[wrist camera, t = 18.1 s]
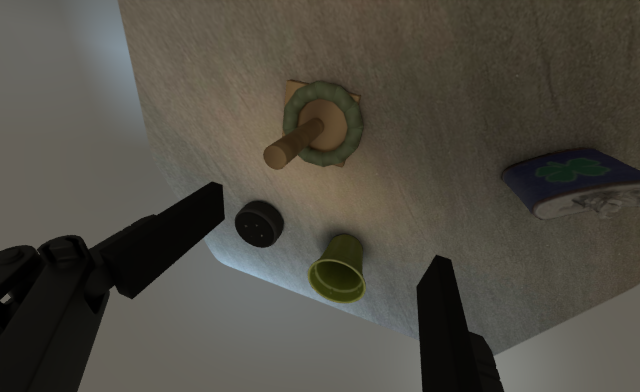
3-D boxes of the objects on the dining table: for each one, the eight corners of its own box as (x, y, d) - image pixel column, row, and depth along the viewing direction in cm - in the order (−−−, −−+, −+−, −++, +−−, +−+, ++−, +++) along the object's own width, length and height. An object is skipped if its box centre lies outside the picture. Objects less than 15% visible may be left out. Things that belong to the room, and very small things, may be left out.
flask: (502, 184, 31) (543, 234, 22) (499, 165, 30) (541, 208, 21) (598, 164, 27) (698, 214, 18) (599, 140, 26) (704, 181, 17)
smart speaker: (275, 243, 49) (266, 256, 46) (239, 221, 49) (227, 232, 46) (291, 216, 44) (282, 229, 41) (251, 191, 44) (239, 201, 41)
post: (361, 95, 31) (335, 117, 19) (344, 164, 36) (316, 215, 24) (290, 79, 32) (225, 89, 20) (284, 147, 38) (230, 187, 26)
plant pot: (317, 254, 47) (302, 289, 40) (328, 218, 42) (313, 251, 35) (362, 272, 46) (354, 311, 39) (379, 237, 41) (374, 275, 33)
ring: (373, 92, 29) (371, 94, 27) (351, 171, 35) (349, 177, 33) (291, 73, 30) (284, 74, 29) (283, 151, 36) (278, 156, 35)
